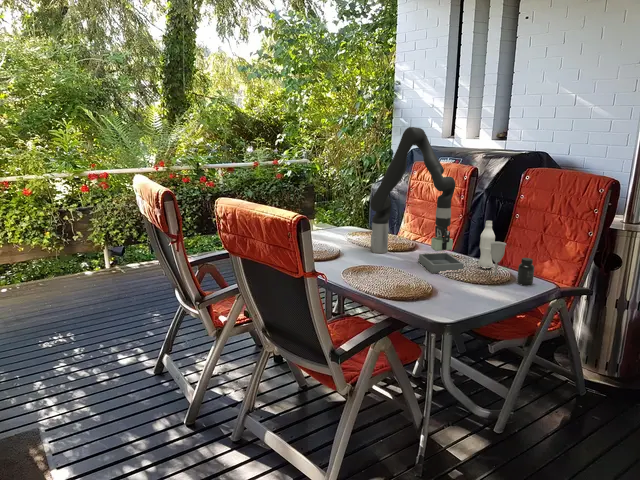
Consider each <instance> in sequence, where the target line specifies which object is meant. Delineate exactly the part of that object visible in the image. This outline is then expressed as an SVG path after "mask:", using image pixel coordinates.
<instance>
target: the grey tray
mask: <svg viewBox="0 0 640 480" xmlns="http://www.w3.org/2000/svg"><path fill="white" fill-rule="evenodd" d="M418 263H419V264H420V263H421V264H420V265H421V266H423V267H424V266H425V267H426V268H425V267H424V268H425V269H427V271H429V272H430V273H431V274H433V275H434V274H436V273H437V274H439V273H438V272H440V271H446V270H458V269H463V270H464V263H463V261H460V260H459V259H458V258H457V257H455V256H453V255H452V254H450V253H448V252H435V253H419V254H418Z"/></svg>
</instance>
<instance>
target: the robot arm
mask: <svg viewBox="0 0 640 480" xmlns="http://www.w3.org/2000/svg"><path fill="white" fill-rule="evenodd" d="M413 146H416V147H417V148H418V149H419V150H420V152H421V154H422V157H423V163H424V165H425V169H426V170H427V171H428V173H429V174H430V176H431V179H432V183H433V186H434V187H435V189H436V190H437V191H438V192H442V193H441V194H440V195H439V196H437V198H436V209H435V210H436V211H435V222H434V223H435V227H434V229H435V230H434V232H435V233H434V236H435V237H441V239H442V250H444V251H447V250H446V248H447V242H449V239H450V237H451V231H450V230H448V227H449V226H451V224H452V223H451V220H452V200H453V199H452V198H453V196H454V192H455V190H456V180H455V177H453V176H443V175H444V172H445V168H444V166H443V165H442V164H441V162H440V159H438V157H437V155H436V154H435V152H434V150H433V148H432V146H431V143H430V141H429V139H428V136H427V134H426V132H425V131H424V129H423V128H421V127H417V126H415V127H414V126H410V127H407V128H406V129H405V130H404V131H403V133H402V136H401V138H400V141H399V143H398V146H397V149H396V151H395V153H394V155H393V158H392V159H391V161H390V163H389V166H388V168H387V170H386V172H385V174H384V175H383V177H382V180H381V181H380V184H379V186H378V188H377V189H376V191H375V192H374V194H373V196H372V198H371V200H370V202H369V203H370V209H371V210H372V211H373V212H375V213H374V216H373V217H372V219H371V220H372V223H371V234H370V251H371V253H373V254H386V253H388V249H389V248H388V247H389V246H388V245H389V244H388V243H389V220H390V217H391V209H392V200H391V198H390V196H389V195H390V194H391V192H392V191H393V189H395V187H397V186H398V184H400V182H401V180H402V179H403V177H404V175H405V173H406V170H407V167H408V160H407V159H408V155H409V153H410V150H411V149H412V147H413ZM435 237H434V238H435ZM447 238H448V240H447Z"/></svg>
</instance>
